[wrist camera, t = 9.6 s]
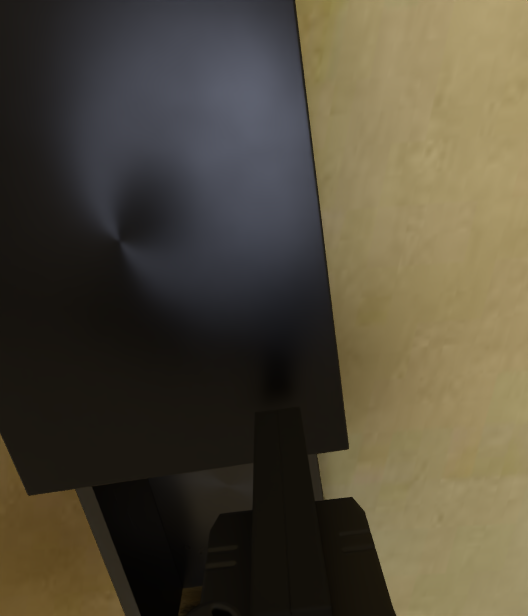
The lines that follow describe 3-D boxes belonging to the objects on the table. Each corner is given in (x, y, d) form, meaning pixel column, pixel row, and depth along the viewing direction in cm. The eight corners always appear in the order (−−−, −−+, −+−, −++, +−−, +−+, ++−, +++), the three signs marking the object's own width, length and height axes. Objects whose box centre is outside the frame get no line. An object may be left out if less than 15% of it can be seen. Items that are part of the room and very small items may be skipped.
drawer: (350, 626, 32) (373, 745, 25) (188, 647, 32) (171, 767, 26) (309, 345, 24) (328, 413, 18) (98, 378, 25) (41, 456, 18)
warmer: (320, 356, 25) (349, 449, 17) (100, 390, 26) (27, 496, 18) (267, -37, 19) (273, -185, 11) (-26, 21, 19) (-229, -77, 11)
